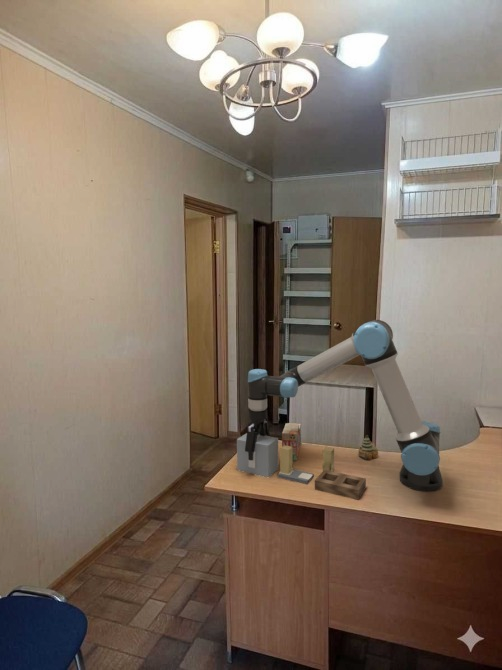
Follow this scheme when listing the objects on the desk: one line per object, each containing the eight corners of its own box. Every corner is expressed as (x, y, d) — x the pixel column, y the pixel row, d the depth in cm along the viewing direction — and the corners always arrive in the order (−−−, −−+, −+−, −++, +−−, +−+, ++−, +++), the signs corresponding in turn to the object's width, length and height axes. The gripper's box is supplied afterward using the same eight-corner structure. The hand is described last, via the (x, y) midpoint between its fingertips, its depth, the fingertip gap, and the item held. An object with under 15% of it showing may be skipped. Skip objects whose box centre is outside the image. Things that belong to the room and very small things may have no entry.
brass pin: (333, 472, 172) (334, 448, 170) (331, 475, 169) (331, 451, 167) (325, 470, 173) (325, 446, 172) (322, 474, 170) (322, 449, 169)
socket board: (365, 487, 159) (365, 478, 158) (358, 499, 150) (358, 490, 150) (323, 478, 167) (324, 469, 166) (314, 489, 158) (314, 480, 157)
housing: (278, 468, 175) (278, 438, 174) (268, 477, 168) (268, 445, 166) (248, 462, 182) (247, 432, 180) (237, 470, 174) (236, 439, 173)
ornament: (369, 452, 191) (370, 430, 189) (380, 457, 186) (380, 435, 184) (356, 456, 187) (356, 434, 185) (367, 461, 181) (367, 438, 180)
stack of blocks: (287, 441, 204) (287, 416, 203) (301, 442, 203) (301, 417, 202) (281, 460, 184) (281, 432, 182) (296, 461, 182) (296, 433, 181)
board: (314, 476, 168) (314, 449, 166) (307, 484, 162) (307, 455, 160) (284, 470, 174) (285, 443, 172) (277, 477, 168) (277, 449, 166)
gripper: (262, 400, 183) (262, 450, 186) (235, 414, 164) (235, 471, 166) (278, 402, 179) (278, 454, 182) (252, 417, 160) (253, 475, 163)
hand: (258, 462), depth 174 cm, fingers open, 10 cm apart
